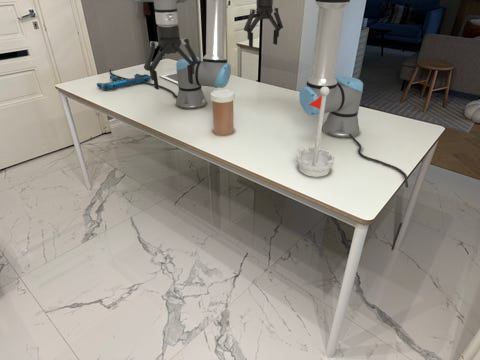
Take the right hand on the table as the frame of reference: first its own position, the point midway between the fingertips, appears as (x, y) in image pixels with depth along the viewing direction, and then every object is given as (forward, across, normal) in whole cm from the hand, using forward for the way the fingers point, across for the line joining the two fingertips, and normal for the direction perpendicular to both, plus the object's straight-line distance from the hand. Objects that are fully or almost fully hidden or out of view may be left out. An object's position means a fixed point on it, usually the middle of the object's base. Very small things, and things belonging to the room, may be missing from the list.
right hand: (263, 45), depth 167 cm
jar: (+28, +34, +27) cm, 52 cm away
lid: (+11, +34, +27) cm, 45 cm away
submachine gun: (+28, +61, -64) cm, 92 cm away
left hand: (+5, +54, +29) cm, 61 cm away
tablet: (+28, +25, -54) cm, 65 cm away
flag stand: (+28, +17, +71) cm, 78 cm away
